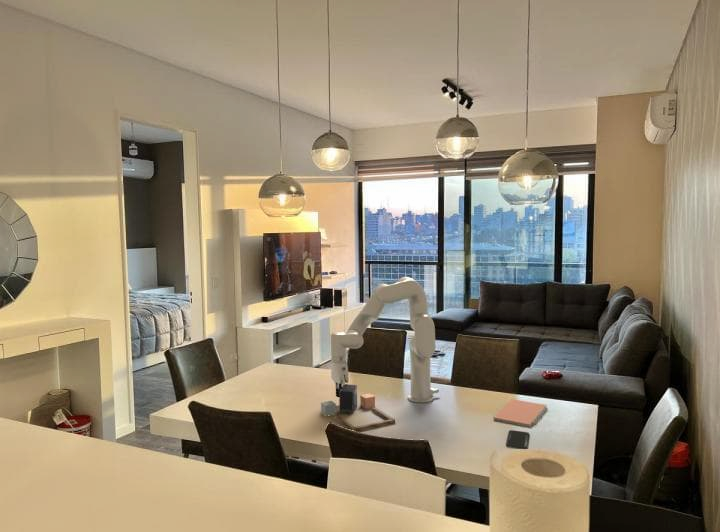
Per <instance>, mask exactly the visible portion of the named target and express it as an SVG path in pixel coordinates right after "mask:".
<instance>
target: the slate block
mask: <svg viewBox="0 0 720 532" xmlns="http://www.w3.org/2000/svg"><path fill="white" fill-rule="evenodd" d="M320 406H321V407H320V409H321V411H320V412H321V414H322V413H323V414H324V415H325V416H324V415H323V414H322V415H323V416H324V417H326V416H327V417H329V416H328V415H332V416H335V415H334V414H336V415H337V403H335V402H333V401H332V400H326V401H322V402H320Z"/></svg>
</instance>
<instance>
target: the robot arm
mask: <svg viewBox="0 0 720 532" xmlns="http://www.w3.org/2000/svg"><path fill="white" fill-rule="evenodd" d="M404 300H408V304H409V305H408V306H409V324H410V328H411V329H412V330H413V331H414V335H412V336H411V338H410V339H409V346H408V347H409V348H408V349H409V357H410V394H408V395H407V399H408V401H410V402H413V403H417V404H418V403H419V404H423V403H430V402H432V401H434V399H435V398H434V397H435V396H434V394H437V393H439V392H440V389H439V388H433V387H432V388H431V384H432V383H431V357H433V355H434V353H435V351H436V328H435V323H434V320H433V318H432V317H431V316H430V315H429V311H428V300H427V295H426V292H425V290H424V288H423V287H422V286H421V284H419V282H417V280H415V279H414V278H412V277H409V276H402V277H401V278H399V279H398V281H397V282H395V283H392V284H387V283H379V284H378V285H377V286H376V287H375V289H374V290H373V292H372V293H371V295H370V297H369V298H368V299H367V302H366V303H365V304H364V306H363V308H362V309H361V311H359V313H358V314H357V315H356V317H355V318H354V319H353V321H352V322H351V324H350V326H349V327H348V329H347V331H346V332H343V331H334V332H331V334H330V363H331V367H330V368H331V369H330V371H331V372H330V377H331V380H332V381H333V382H334V386H335V397H336V398H339V391H340V389H341V388H342V387H343V386H344V385H345V384H349V379H350V378H349V366H348V363H347V362H348V349H356V350H357V349H359V348H361V347H362V346H363V344H364V337H363V335H364V333H365V331H366V330H367V328H368V327H369V326H370V325H371V324H372V323H374V322H376V321H377V320H378V319H379V317H380V316H381V315H382V312H384V309H385V308H386V306H387V305H388V304H393V303H397V302H401V301H404Z"/></svg>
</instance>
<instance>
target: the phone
mask: <svg viewBox="0 0 720 532" xmlns="http://www.w3.org/2000/svg"><path fill="white" fill-rule="evenodd" d="M529 438H530V433H529V432H528V431H520V430H513V429H511V430H510V429H509V430H508V434H507V437H506V441H505V447H507V448H512V449H520V450H527V449H528V447H529V446H528V445H529Z"/></svg>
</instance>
